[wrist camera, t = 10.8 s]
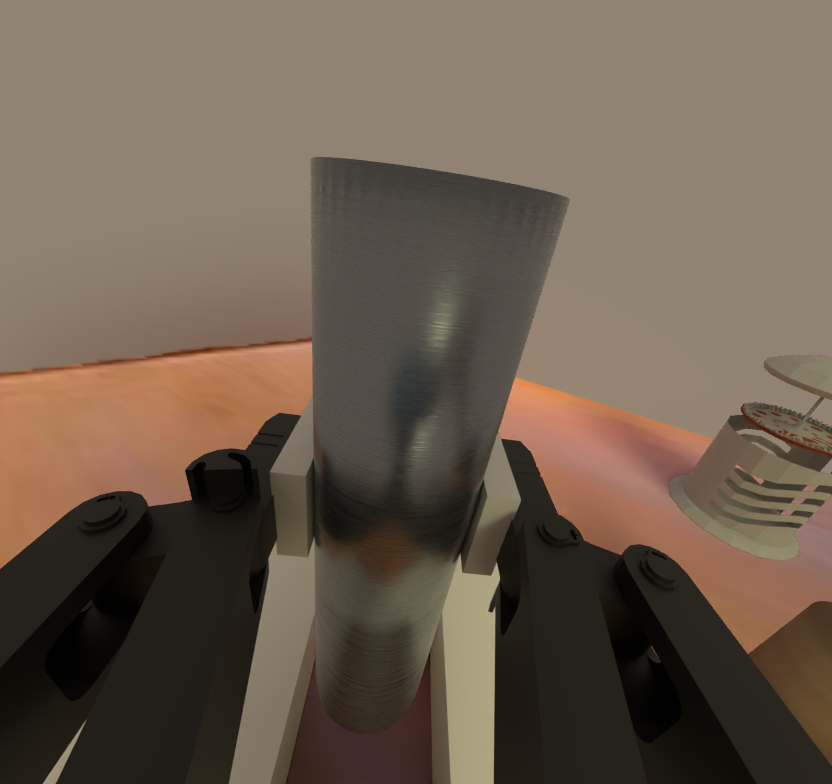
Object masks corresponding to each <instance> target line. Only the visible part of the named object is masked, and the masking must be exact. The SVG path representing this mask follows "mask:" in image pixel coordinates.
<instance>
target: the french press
mask: <svg viewBox="0 0 832 784" xmlns="http://www.w3.org/2000/svg"><path fill="white" fill-rule="evenodd" d="M764 368H765V369H766V370H767V371H768V372H769V373H770V374H771V375H773V376H775V377H777V378H779V379H780V380H782V381H784V382H786V383H788V384H791V385H793V386H796V387H798V388H800V389H803V390H805V391H808V392H810V393H813V394H815V395H819V396H821V397H820V398H819V400H818V401H817V402H816V403H815V405H814V406H813V407H812V408H811V409H810V411H809V412H808V413H807V414H806V415H805V416H802V413H799V414H797V412H795V411H793V412H792V411H791V410H787V409H785V410H784V409H783V407H777V406H776V405H775V406H774V405H768V404H765V403H757V402H754V403H748V404H743V406H742V407H741V412H742V413H743V415H735V416H730V418H729V419H728V420H727V422H726V423H725V425H724V426H723V427H722V429H721V430H720V432H719V433H718V434H717V436H716V437H715V439H714V440H713V442H712V443H711V445H710V446H709V447H708V449H707V450H706V452H705V453H704V455H703V456H702V458H701V459H700V461H699V462H698V463H697V465H696V466H695V468H694V469H693V471H692V472H691V474H688V475H681V476H674V477H673V478H672V479H671V481H670V482H669V483H668V487H669V492H670V496H671V497H672V499H673V500H674V501H675V503H676V504H677V505H678V507H679V508H680V509H681V511H682V512H683V513H685V514H686V515H687V516H688V517H689V518H690V519H692V520H693V521H694V522H695V523H696V524H698V525H699V526H700V527H701V528H702V529H704V530H705V531H707V532H709V533H710V534H712V535H714V536H715V537H717V538H719V539H720V540H722V541H724V542H725V543H727V544H729V545H730V546H733V547H735V548H738V549H740V550H743V551H745V552H748V553H750V554H753V555H755V556H757V557H762V558H768V559H774V560H780V561H784V560H788V559H791V558H794V557H797V554H798V549H799V544H798V541H797V539H796V537H795V535H794V533H795V532H796V531H797V530H798V529H799V528H800V527H801V526H802V525H803V524H804V523H805V522H806V521H807V520H808V519H809V518H810V517H811V516H812V515H813V514H814V513H815V512H816V511H817V510H818V509H819V508H820V507H821V506H822V505H823V504H824V503H825V502H826V501H827V500H828V499H829V498H830V497H831V496H832V472H831V474H828V473H822V472H820V471H821V470H822V468H823V467H824V466H825V465H826V464H827V463H828V462H829V461H830V460H831V459H832V426H831V427H829V426H827V425H828V424H826V425H824V424H822V422H818V421H817V419H816V420H813V419H812V417H810V418H808V417H809V416H810V415H811V414H812V412H813V411H814V410H815V409H816V408H817V406H818V405H819V404H820V403H821V401H822V400H823V399H824V398H827V399H831V400H832V357H829V356H823V355H786V356H779V357H771V358H767V359H766V360H765V362H764ZM746 428H747V429H756V430H763V431H765V432H767V433H769V434H771V435H773V436H774V437H777V438H778V439H781V440H782V441H784V442H785V443H786V444H788V445H789V446H790V447H791V450H790V451H789V452H788V453H786V452H785V451H784V450H782V449H781V448H780V447H779V446H778V445H776V444H774V443H772V442H771V441H769V440H766V439H765V438H763V437H761V436H755V435H748V434H742V435H739V434H738V433H737V432H735V431H738V430H742V429H746ZM749 441H750V442H749ZM751 442H757V443H759V444H761V445H762V446H765V447H766V448H768V449H770V450H772V451H773V452H774V453H775V454H776V455H777V456H778V457H777V456H775V455H773V454H771V453H768V452H766V451H765V450H763V449H761V448H759V447H758V446H756V445H754V444H752V443H751ZM736 464H738V465H739V466H740V467H741V468H742V469H743V470H744V471H746V472H747V473H748V474H749V475H748V474H747V473H745V472H743V471H742V470H740V469H738V468H735V466H736ZM750 475H752V476H755V477H758V478H761V479H763V480H764V482H763V483H762V484H761V485H760V484H759V483H758V482H757V481H756V480H755V479H754V478H753V477H752V476H750ZM807 485H819V486H818V487H817V488H816V489H815V490H814V491H802V490H803V489H804V488H805V487H806V486H807ZM795 498H807V499H806V500H805V501H804V502H803V503H802V504H794V503H791V502H792V501H793V500H794V499H795ZM784 510H795V511H794V512H793V513H792V514H791V516H790V515H781V513H782V512H783V511H784Z"/></svg>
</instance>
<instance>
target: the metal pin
mask: <svg viewBox="0 0 832 784" xmlns="http://www.w3.org/2000/svg"><path fill="white" fill-rule="evenodd" d="M310 162H311V251H312V252H311V253H312V254H311V256H312V257H311V258H312V259H311V260H312V357H313V455H314V553H315V650H316V686H317V691H318V695H319V698H320V701H321V703H322V705H323V708H324V709H325V711H326V712H327V714H328V715H329V716H330V718H331V719H332V720H333V721H334V722H335V723H337V724H338V725H339V726H340V727H342V728H344V729H346V730H348V731H351V732H353V733H359V734H372V733H377V732H380V731H383V730H385V729H387V728H389V727H391V726H392V725H394V724H395V723H396V722H397V721H399V720H400V719H401V718H402V717H403V715H404V714H405V713H406V712H407V710H408V709H409V708H410V706H411V704H412V702H413V701H414V698H415V696H416V694H417V691H418V687H419V684H420V681H421V678H422V675H423V671H424V668H425V665H426V662H427V659H428V655H429V652H430V649H431V646H432V642H433V639H434V636H435V633H436V630H437V626H438V623H439V620H440V617H441V613H442V610H443V607H444V604H445V601H446V597H447V594H448V591H449V588H450V585H451V581H452V578H453V575H454V572H455V568H456V565H457V562H458V559H459V556H460V552H461V549H462V546H463V543H464V539H465V536H466V533H467V530H468V527H469V523H470V520H471V517H472V514H473V511H474V507H475V504H476V501H477V498H478V494H479V491H480V488H481V485H482V482H483V478H484V475H485V472H486V469H487V466H488V462H489V459H490V456H491V453H492V449H493V446H494V443H495V440H496V437H497V433H498V430H499V427H500V424H501V420H502V417H503V414H504V411H505V408H506V404H507V401H508V398H509V395H510V392H511V388H512V385H513V382H514V379H515V375H516V372H517V369H518V366H519V363H520V359H521V356H522V353H523V350H524V346H525V343H526V340H527V337H528V333H529V330H530V327H531V324H532V321H533V318H534V314H535V311H536V308H537V304H538V301H539V298H540V295H541V292H542V289H543V285H544V282H545V279H546V275H547V272H548V269H549V266H550V263H551V260H552V256H553V253H554V250H555V247H556V244H557V240H558V237H559V234H560V231H561V227H562V224H563V221H564V217H565V214H566V211H567V208H568V204H569V202H570V199H568V198H567V197H564V196H561V195H558V194H554V193H551V192H547V191H543V190H539V189H534V188H530V187H525V186H520V185H515V184H510V183H505V182H500V181H495V180H489V179H483V178H478V177H473V176H467V175H461V174H455V173H449V172H443V171H436V170H430V169H423V168H417V167H410V166H403V165H395V164H387V163H380V162H371V161H363V160H354V159H343V158H330V157H314V158H311V159H310Z"/></svg>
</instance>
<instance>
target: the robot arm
mask: <svg viewBox="0 0 832 784" xmlns="http://www.w3.org/2000/svg"><path fill="white" fill-rule="evenodd" d="M185 472H186V476H187V480H188V484H189V488H190V492H191V496H192V500H189V501H184V502H179V503H172V504H165V505H157V506H150V507H148V504H147V502H146V500H145V499H144V498H143V496H142V495H140V494H137V493H134V492H131V491H116V492H112V493H107V494H103V495H99V496H97V497H95V498H92V499H90V500H87V501H85V502H83V503H82V504H80V505H79V506H77V507H76V508H74V509H72V510H71V511H69V512H68V513H67V514H66V515H65V516H63V517H62V518H61V519H60V520H59V521H57V522H56V523H55V524H54V525H53V526H51V527H50V528H49V529H48V530H47V531H45V532H44V533H43V534H42V535H41V536H39V537H38V538H37V539H36V540H35V541H33V542H32V543H31V544H30V545H29V546H27V547H26V548H25V549H24V550H23V551H21V552H20V553H19V554H18V555H17V556H15V557H14V558H13V559H12V560H11V561H9V562H8V563H7V564H6V565H5V566H3V567H2V568H1V569H0V784H43V783H44V781H45V780H46V778H47V777H48V775H49V774H50V772H51V771H52V769H53V768H54V766H55V765H56V764H57V762H58V761H59V759H60V758H61V756H62V755H63V753H64V752H65V750H66V749H67V747H68V746H69V744H70V743H71V742H72V740H73V739H74V737H75V736H76V734H77V733H78V731H79V730H80V728H81V727H82V725H83V724H84V722H85V721H86V722H85V724H84V726H83V728H82V730H81V732H80V734H79V736H78V738H77V740H76V743H75V745H74V747H73V749H72V751H71V753H70V755H69V757H68V759H67V761H66V763H65V765H64V767H63V769H62V772H61V774H60V776H59V778H58V780H57V782H56V784H229V780H230V775H231V770H232V765H233V759H234V754H235V749H236V744H237V739H238V733H239V728H240V723H241V718H242V712H243V707H244V702H245V697H246V691H247V686H248V681H249V676H250V670H251V665H252V660H253V655H254V649H255V644H256V639H257V634H258V629H259V623H260V618H261V613H262V608H263V602H264V597H265V592H266V587H267V581H268V576H269V560H268V559H269V556H270V554H271V552H272V549H273V547H274V545H275V542H276V548H277V555H287V556H297V557H307V558H308V555H309V552H310V549H311V546H312V543H313V540H314V455H313V396H312V398H311V400H310V401H309V403H308V405H307V407H306V408H305V410H304V412H303V414H302V415H301V416H300V415H292V414H284V413H279V414H277V415H275V416H274V417H272V418H271V419H269V420H268V421H266V422H265V423H264V425H263V426H262V428H261V429H260V430H259V432H258V435H256V436H255V437H254V439H253V440H252V442H251V444H249V446H248V447H247V449H246V450H240V449H222V450H216V451H213V452H210V453H207V454H204V455H203V456H201V457H199V458H198V459H196V460H194V461H193V462H192V463H191V464H190V465H189V466H188V467H187V469H186V470H185ZM460 556H461V565H462V573H467V574H477V575H487V576H491V575H492V573H493V570H494V568H495V565H496V563H497V566H498V570H499V575H500V581H499V583H498V585H497V588H496V590H495V592H494V595H493V597H492V600H491V602H490V605H489V610H488V612H491V613H493V610H494V608H495V695H494V784H832V766H831V764H830V763H829V762H828V760H827V759H826V758H825V756H824V755H823V754H822V752H821V751H820V750H819V748H818V747H817V746H816V744H815V743H814V742H813V740H812V739H811V738H810V736H809V735H808V734H807V732H806V731H805V730H804V728H803V727H802V726H801V724H800V723H799V722H798V720H797V719H796V718H795V717H794V715H793V714H792V713H791V711H790V710H789V709H788V707H787V706H786V705H785V703H784V702H783V701H782V699H781V698H780V697H779V695H778V694H777V693H776V691H775V690H774V689H773V687H772V686H771V685H770V683H769V682H768V681H767V679H766V678H765V677H764V675H763V674H762V673H761V671H760V670H759V669H758V667H757V666H756V665H755V663H754V662H753V661H752V659H751V658H750V657H749V655H748V654H747V653H746V651H745V650H744V649H743V647H742V646H741V645H740V643H739V642H738V641H737V639H736V638H735V637H734V635H733V634H732V633H731V631H730V630H729V629H728V627H727V626H726V625H725V623H724V622H723V621H722V619H721V618H720V617H719V615H718V614H717V613H716V611H715V610H714V609H713V607H712V606H711V605H710V604H709V602H708V601H707V600H706V598H705V597H704V596H703V594H702V593H701V592H700V590H699V589H698V588H697V586H696V585H695V584H694V582H693V581H692V580H691V578H690V577H689V576H688V574H687V573H686V572H685V571H684V570H683V569H682V568H681V567H680V566H679V565H678V564H677V563H676V562H675V561H674V560H672V559H671V558H670V557H668V556H667V555H666V554H664V553H662V552H660V551H658V550H656V549H654V548H652V547H649V546H644V545H640V544H638V545H631V546H629V547H628V548H627V549H626V550H625V551H624V552H623V554H622V555H619V554H616V553H613V552H611V551H608V550H605V549H603V548H600V547H597V546H595V545H592V544H590V543H588V542H586V541H584V540H583V537H582V535H581V533H580V531H579V530H578V529H577V528H576V527H575V526H574V525H573V524H572V523H571V522H570V521H568V520H567V519H565V518H564V517H562V516H561V515H558V513H557V511H556V509H555V506H554V504H553V502H552V500H551V497H550V495H549V493H548V490H547V488H546V486H545V484H544V481H543V479H542V477H540V472H539V470H538V468H537V467H536V463H535V461H534V458H533V456H532V454H531V452H530V451H529V450H528V449H527V448H526V447H525V446H524V445H523V444H522V443H521V442H520V441H515V440H507V439H501V438H500V435H499V432H498V433H497V437H496V440H495V443H494V446H493V449H492V453H491V456H490V459H489V462H488V466H487V469H486V472H485V475H484V478H483V482H482V485H481V488H480V491H479V494H478V498H477V501H476V504H475V507H474V511H473V514H472V517H471V520H470V523H469V527H468V530H467V533H466V536H465V539H464V543H463V546H462V549H461V552H460ZM651 646H653V648H654V650H655V652H656V654H657V655H658V657H659V658H658V657H657V656H656V654H655V653H654V651H653V650H652V648H651ZM86 719H87V720H86Z"/></svg>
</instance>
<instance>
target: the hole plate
mask: <svg viewBox="0 0 832 784" xmlns="http://www.w3.org/2000/svg"><path fill="white" fill-rule="evenodd" d="M268 560H269V576H268V581H267V587H266V592H265V597H264V602H263V608H262V613H261V618H260V623H259V629H258V634H257V639H256V644H255V649H254V655H253V660H252V665H251V670H250V676H249V681H248V686H247V691H246V697H245V702H244V707H243V712H242V718H241V723H240V728H239V733H238V739H237V744H236V749H235V754H234V759H233V765H232V770H231V775H230V780H229V784H286V781H287V777H288V772H289V768H290V764H291V759H292V755H293V751H294V747H295V742H296V738H297V734H298V729H299V725H300V721H301V717H302V712H303V708H304V704H305V699H306V695H307V691H308V687H309V682H310V678H311V674H312V670H313V665H314V661H315V657H316V650H315V553H314V540H313V543H312V546H311V549H310V552H309V555H308V558H307V557H297V556H287V555H277V548H276V542H275V545H274V547H273V549H272V552H271V554H270V556H269V559H268ZM499 581H500V575H499V570H498V566H497V563H496V565H495V568H494V570H493V573H492V575H491V576H487V575H477V574H467V573H462V565H461V556H459V559H458V562H457V565H456V568H455V572H454V575H453V578H452V581H451V585H450V588H449V591H448V594H447V597H446V601H445V604H444V607H443V610H442V613H441V617H440V620H439V623H438V626H437V630H436V633H435V636H434V639H433V642H432V646H431V649H430V681H431V736H432V784H494V695H495V608H494V610H493V613H491V612H488V610H489V605H490V602H491V600H492V597H493V595H494V592H495V590H496V588H497V585H498V583H499ZM86 720H87V719H86ZM85 722H86V721H85ZM85 722H84V724H85ZM84 724H83V725H82V727H81V728H80V730H79V731H78V733H77V734H76V736H75V737H74V739H73V740H72V742H71V743H70V744H69V746H68V747H67V749H66V750H65V752H64V753H63V755H62V756H61V758H60V759H59V761H58V762H57V764H56V765H55V766H54V768H53V769H52V771H51V772H50V774H49V775H48V777H47V778H46V780H45V781H44V783H43V784H56V782H57V780H58V778H59V776H60V774H61V772H62V769H63V767H64V765H65V763H66V761H67V759H68V757H69V755H70V753H71V751H72V749H73V747H74V745H75V743H76V740H77V738H78V736H79V734H80V732H81V730H82V728H83V726H84Z"/></svg>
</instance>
